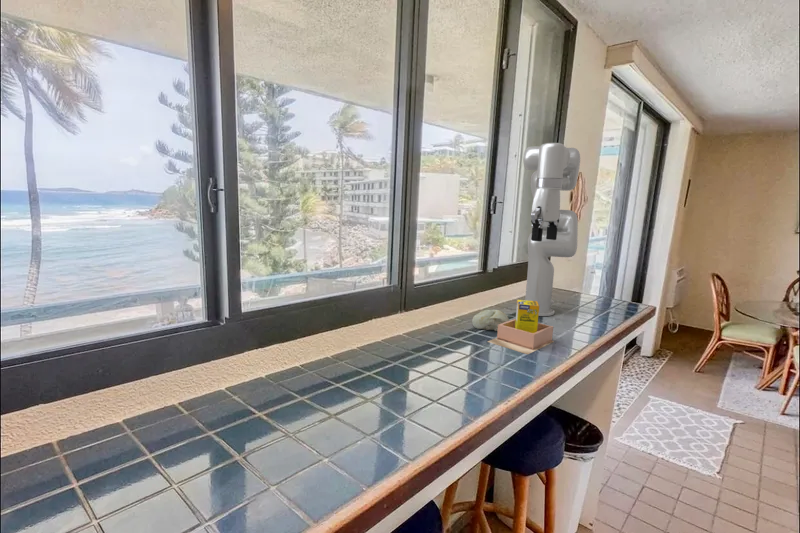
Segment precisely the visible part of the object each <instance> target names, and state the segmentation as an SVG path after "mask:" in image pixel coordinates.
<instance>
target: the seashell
mask: <svg viewBox="0 0 800 533" xmlns="http://www.w3.org/2000/svg"><path fill="white" fill-rule="evenodd" d="M510 320H511V319H510V318H509V316H508V315H507V314H506V313H505V312H503V311H502V310H499V309H485V310H482V311H479V312H478V313H476V314H475V315H474V316H473V317H472V322H471V324H472V325H473V327H474V328H475V329H479V330H489V331H495V332H498V325H499V324H501V323H504V322H507V321H510Z"/></svg>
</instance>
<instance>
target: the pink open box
mask: <svg viewBox="0 0 800 533" xmlns="http://www.w3.org/2000/svg"><path fill="white" fill-rule="evenodd" d="M509 320H510V321H507V322H504V323H501V324H499V325H498V331H497V334H496V336H497V337H496V338H497V339H498V340H502V341H505V342H508V343H511V344H515V345H518V346H521V347H524V348H528V349H531V350H534V349H536V348H538V347H540V346H542V345H545V344H547V343H549V342H551V341H553V334H554V326H553V325H548V324H545V323H540V322H538V326H537V332H535V333H530V332H526V331H523V330H519V329H515V321H516V318H514V319H509Z"/></svg>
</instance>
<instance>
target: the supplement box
mask: <svg viewBox="0 0 800 533" xmlns="http://www.w3.org/2000/svg"><path fill="white" fill-rule="evenodd" d="M515 309H516V311H515V319H516V321H515V329H519V330H523V331H526V332H530V333H535V332H537V326H538V323H539V316H538V315H539V304H538V302H537V301H527V300H525V299H517V300H516V308H515Z"/></svg>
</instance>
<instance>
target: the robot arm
mask: <svg viewBox="0 0 800 533" xmlns="http://www.w3.org/2000/svg"><path fill="white" fill-rule="evenodd" d="M522 161H523V162H522V163H523V167H524V169H525V170H527V171H534V172H532V174H531V177H530V191H531V195H532V198H533V200H532V206H531V212H530V213H531V214H530V220H531V221H530V222H531V228H532V229H531V233H530V234H529V235H528V237H527V251H528V252H527V256H528V258H527V260H528V261H527V273H526V274H527V275H526V276H527V277H526V287H525V288H526V289H525V297H524V300H527V301H537V302H538V304H539V315H538V317H551V316H554V314H555V312H556V311H555V310H554V309H553V308H551V306H552V305H553V304H554V303H555V301H554V300H553V299H552V296H553V286H554V285H553V284H554V276H555V267H554V264H553V263H552V262H551V260H550V259H549V257H551V258H553V257H554V258H573V257H574V256H575V255H576V253H577V250H578V236H579V234H578V233H579V232H578V231H579V230H578V229H579V228H578V227H579V225H578V224H579V223H578V222H579V221H578V219H579V218H578V216H577V213H576V212H575V211H573V210H571V209H561V191H567V192H568V191H572V190H575V188H576V186H577V183H578V177H579V170H580V166H581V165H580V164H581V154H580V152H579V150H578V148H575V147H567V146H565V145H564V144H563V143H560V142H545V143H542V144H540V145H539V146H538V145H535V146H528V147H526V149H525V150H524V153H523V157H522Z"/></svg>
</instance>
